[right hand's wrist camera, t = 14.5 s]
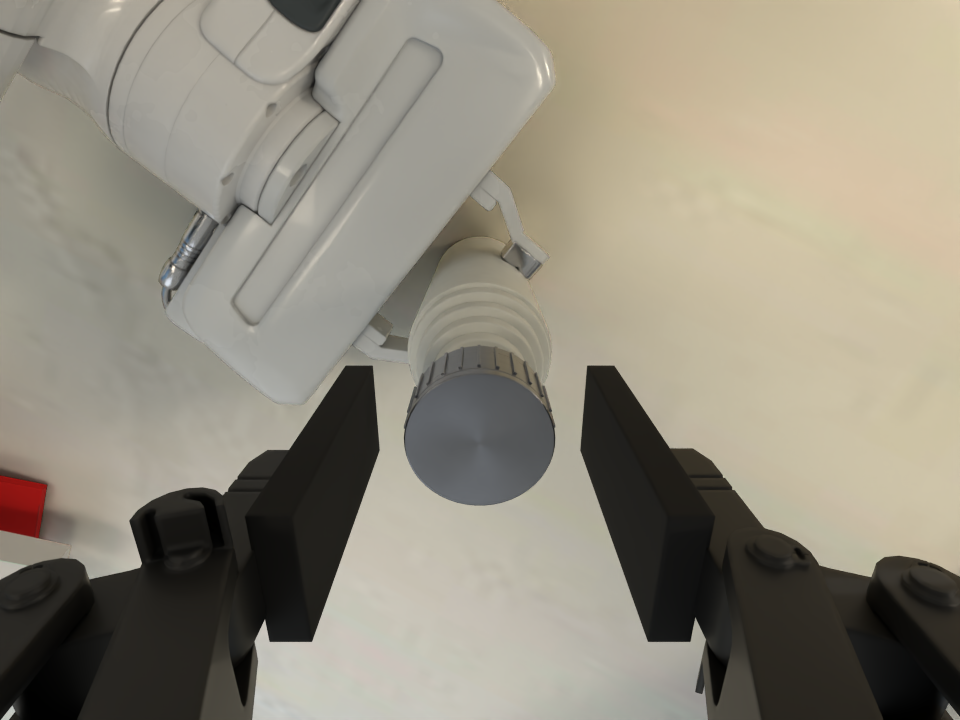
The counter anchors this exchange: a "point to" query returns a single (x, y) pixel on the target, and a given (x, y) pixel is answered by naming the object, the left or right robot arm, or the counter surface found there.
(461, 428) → the cap
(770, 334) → the counter surface
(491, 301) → the bottle
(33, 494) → the toy
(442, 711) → the counter surface
